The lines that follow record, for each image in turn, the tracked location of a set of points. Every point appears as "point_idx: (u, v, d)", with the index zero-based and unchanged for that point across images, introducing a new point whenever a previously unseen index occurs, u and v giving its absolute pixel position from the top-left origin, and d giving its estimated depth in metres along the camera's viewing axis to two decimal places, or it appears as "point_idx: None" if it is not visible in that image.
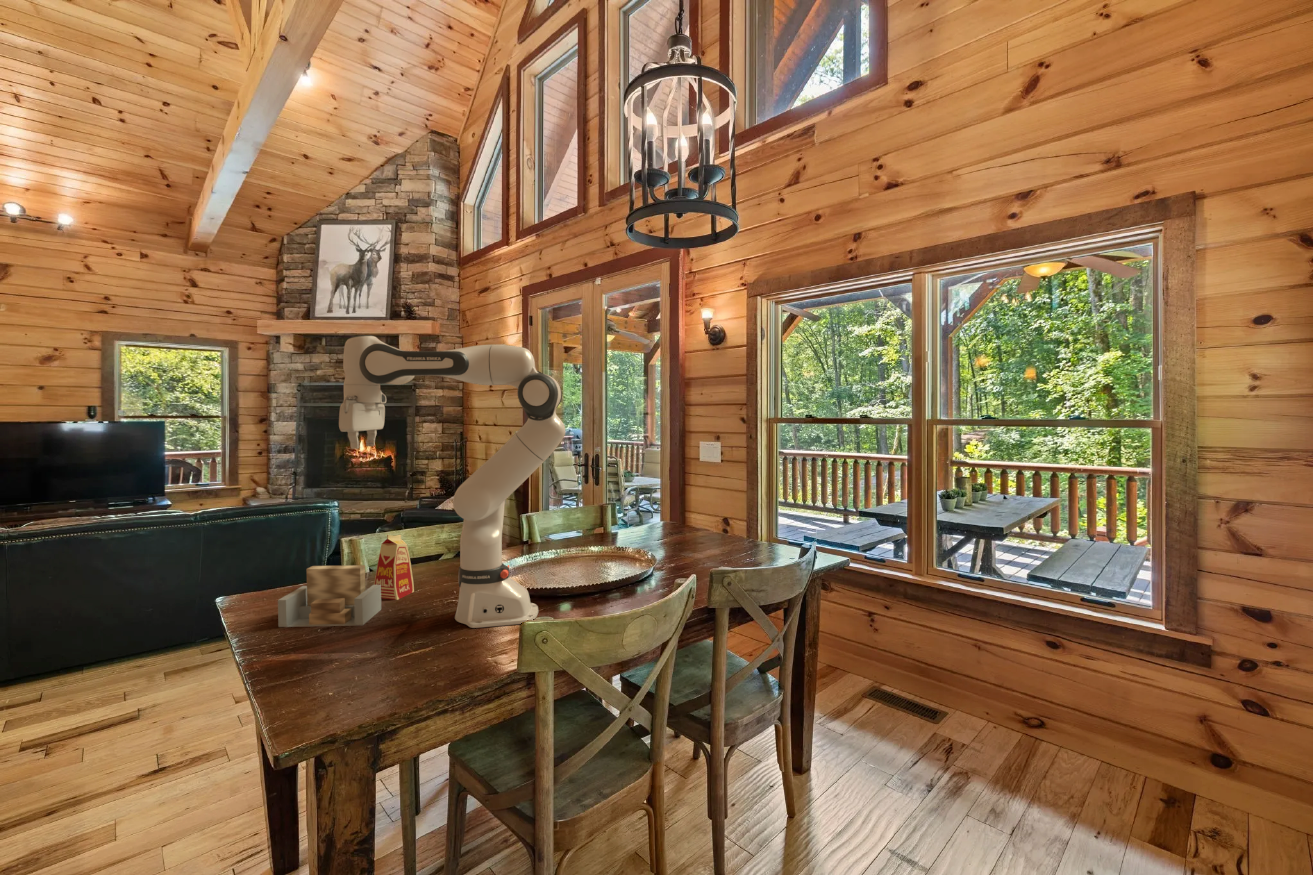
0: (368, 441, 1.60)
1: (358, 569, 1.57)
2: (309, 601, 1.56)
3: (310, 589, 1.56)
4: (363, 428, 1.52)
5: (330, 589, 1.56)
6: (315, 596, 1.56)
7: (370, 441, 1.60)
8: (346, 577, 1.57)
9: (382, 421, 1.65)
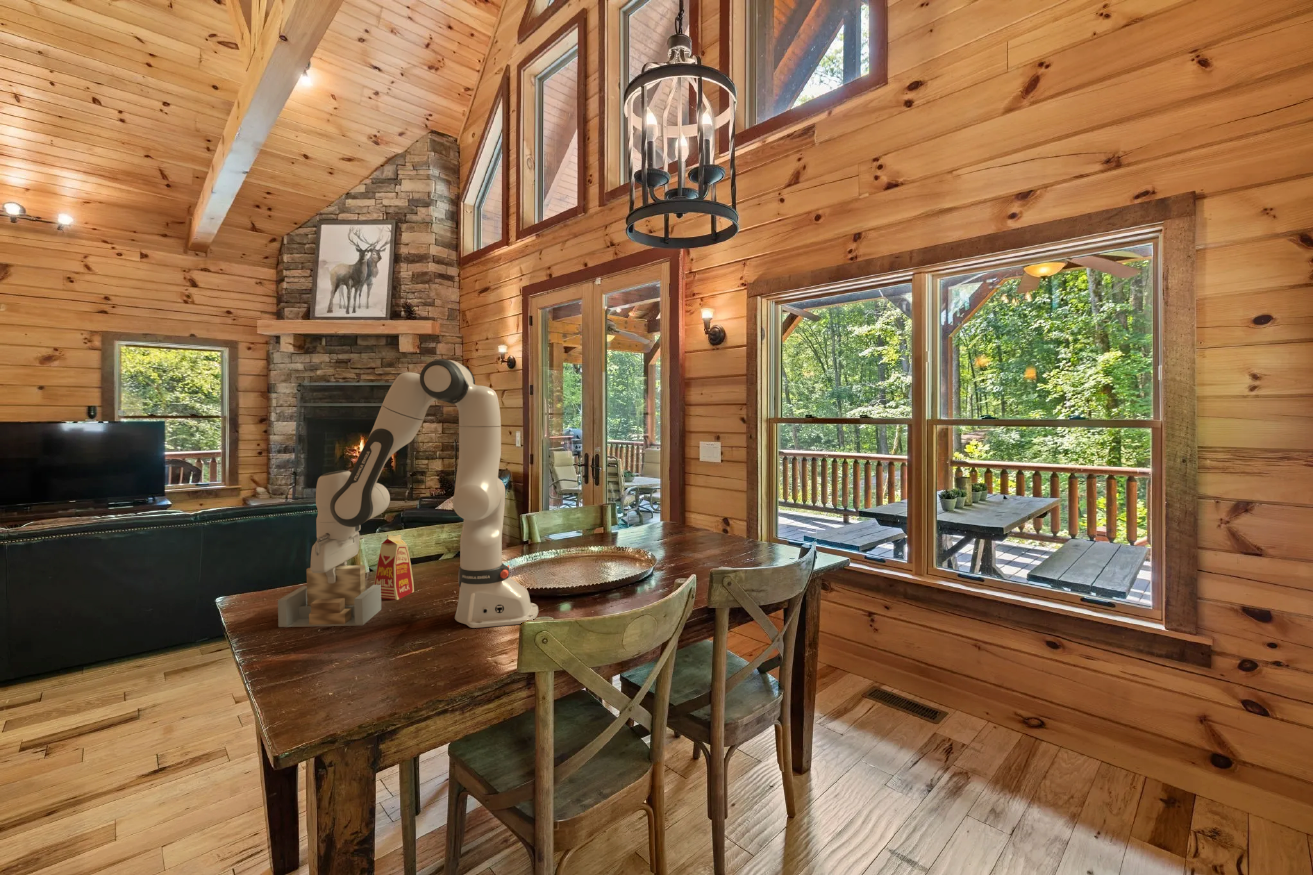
0: None
1: (358, 569, 1.57)
2: (309, 601, 1.56)
3: (310, 589, 1.56)
4: (335, 565, 1.54)
5: (330, 589, 1.56)
6: (315, 596, 1.56)
7: None
8: (346, 577, 1.57)
9: (356, 547, 1.66)
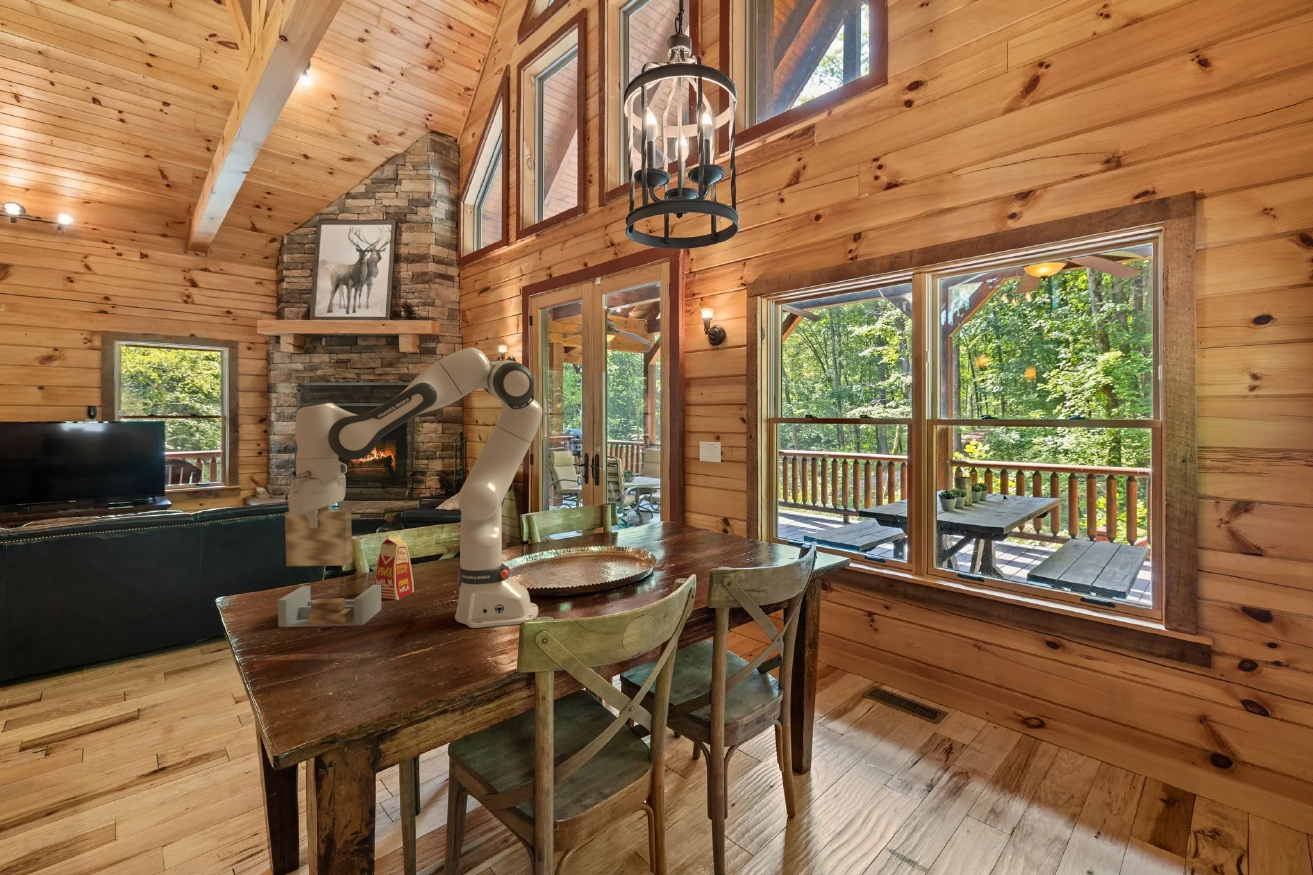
0: None
1: (343, 513, 1.40)
2: (288, 549, 1.39)
3: (289, 535, 1.39)
4: (317, 507, 1.36)
5: (312, 536, 1.39)
6: (295, 543, 1.39)
7: None
8: (329, 522, 1.39)
9: (342, 492, 1.49)
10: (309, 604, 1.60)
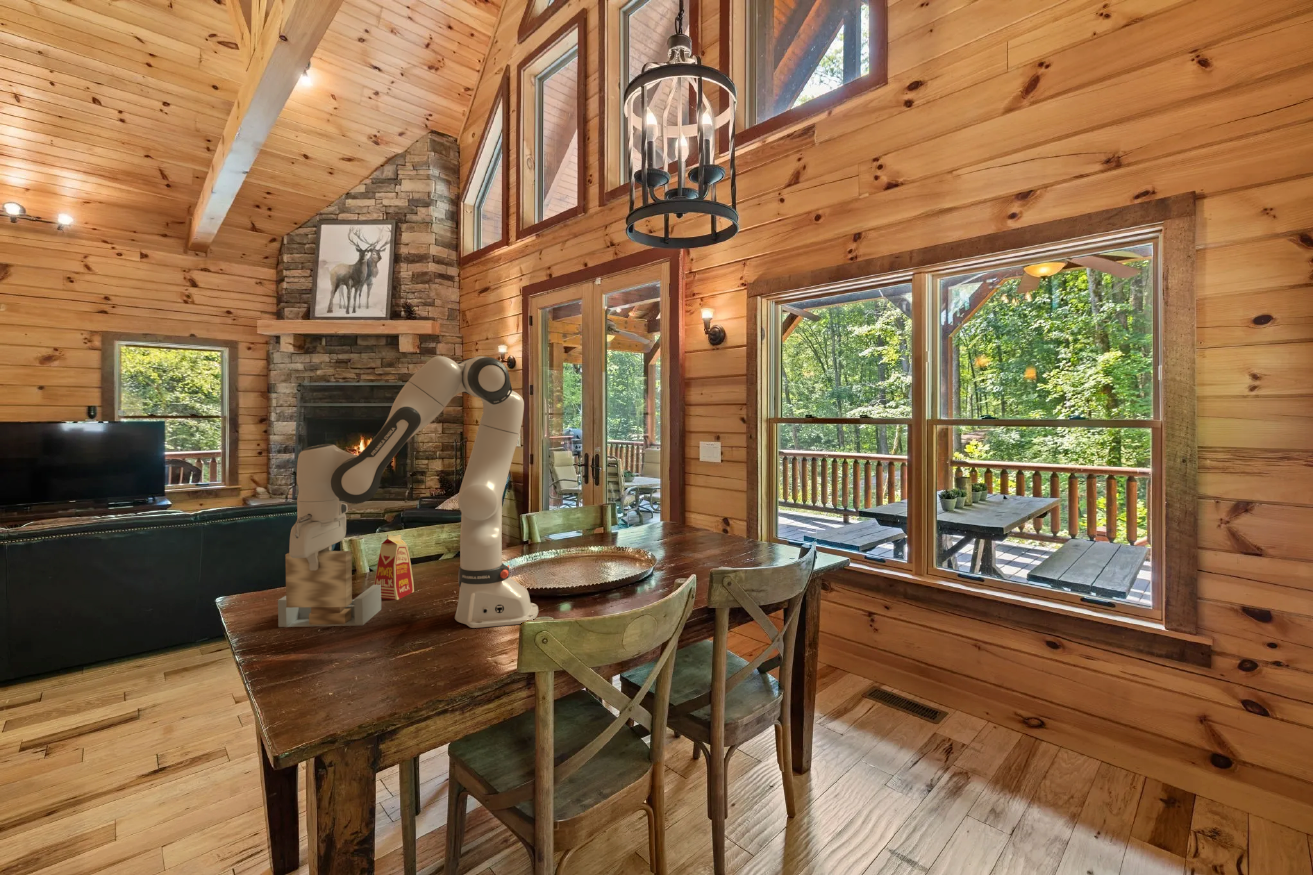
0: None
1: (343, 555, 1.40)
2: (288, 590, 1.39)
3: (289, 577, 1.39)
4: (318, 550, 1.37)
5: (312, 577, 1.40)
6: (295, 584, 1.39)
7: None
8: (330, 563, 1.40)
9: (343, 531, 1.49)
10: None
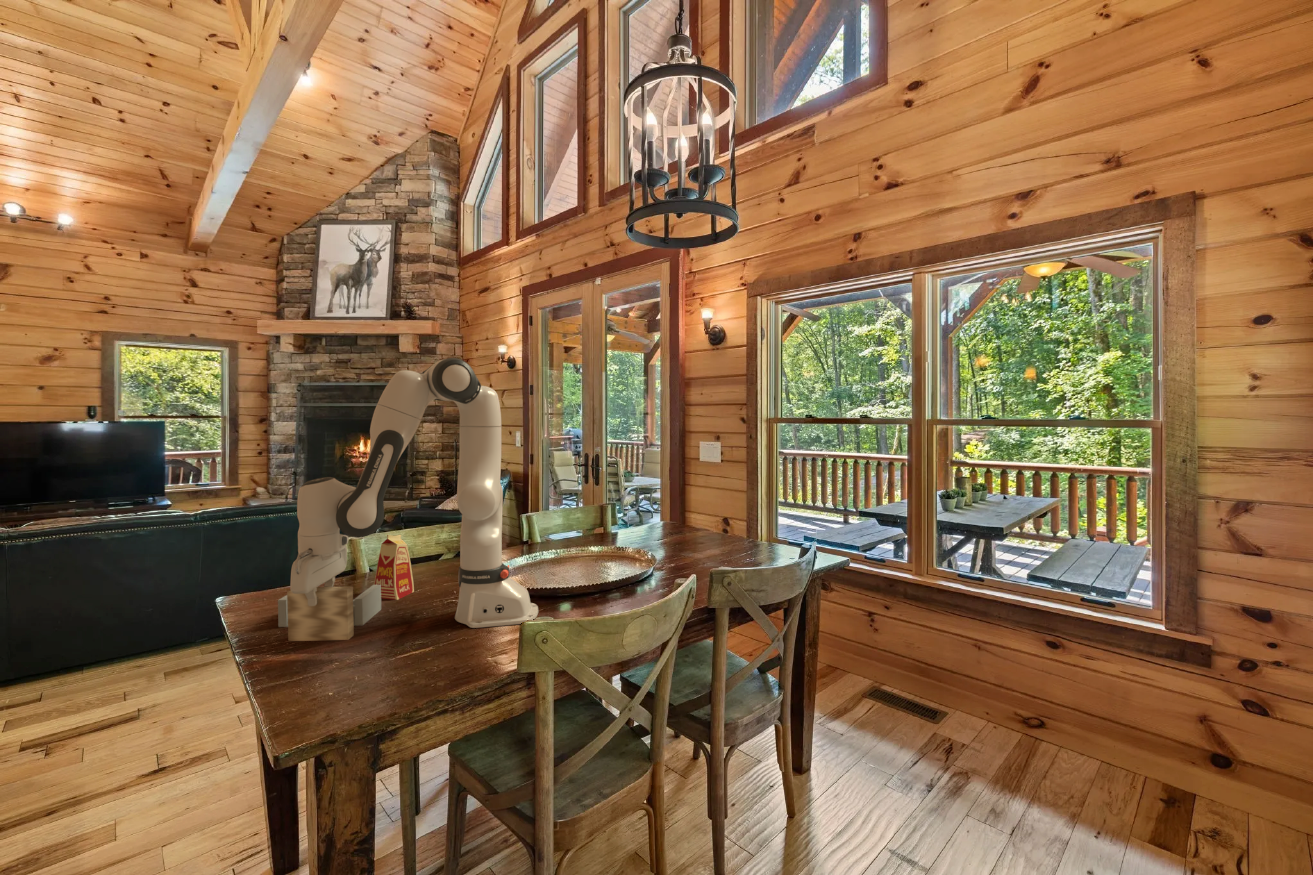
0: None
1: (345, 591, 1.40)
2: (290, 627, 1.40)
3: (291, 614, 1.40)
4: (319, 584, 1.37)
5: (314, 614, 1.40)
6: (297, 621, 1.40)
7: None
8: (331, 600, 1.40)
9: (344, 563, 1.50)
10: None
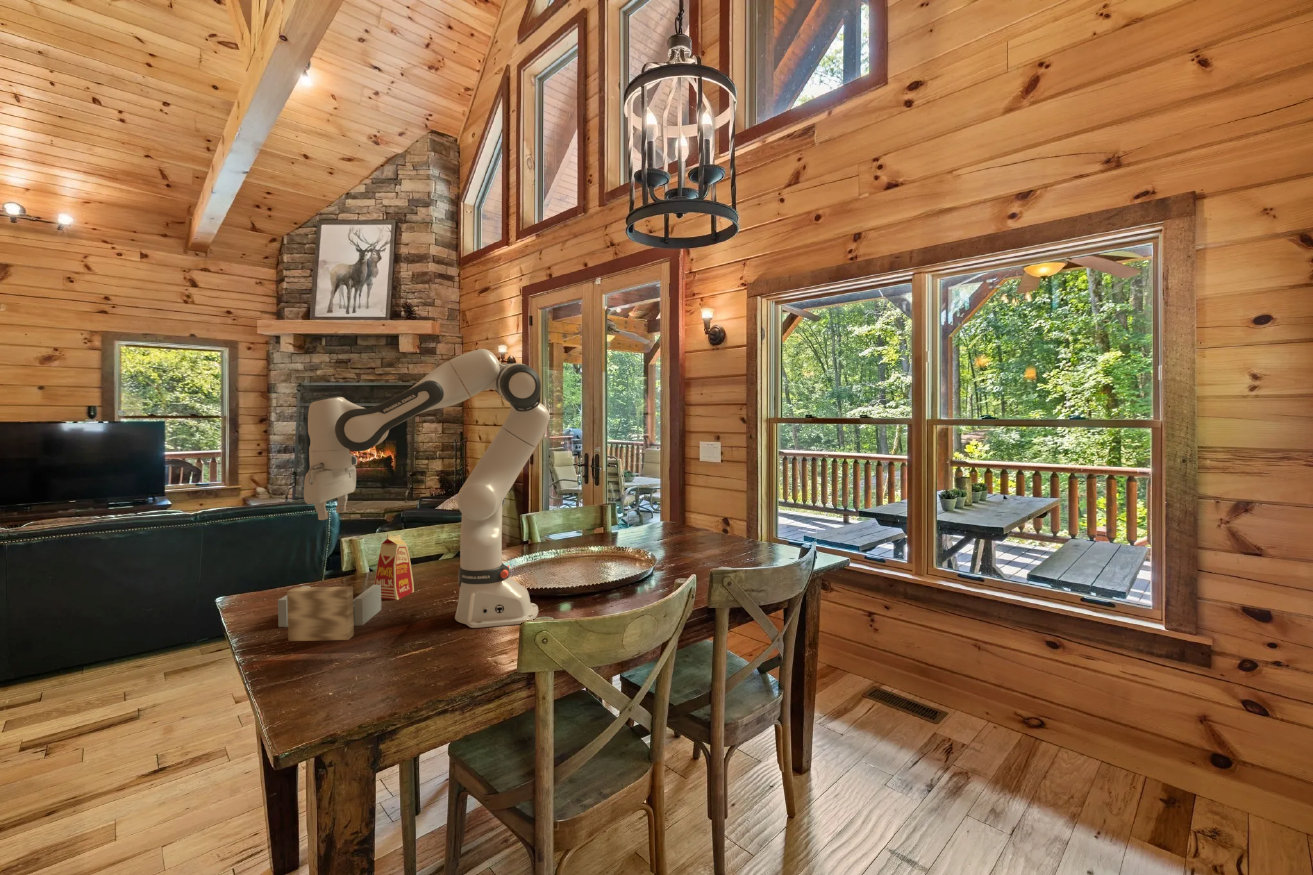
0: (338, 507, 1.50)
1: (345, 591, 1.40)
2: (290, 627, 1.40)
3: (291, 614, 1.40)
4: (331, 497, 1.42)
5: (314, 614, 1.40)
6: (297, 621, 1.40)
7: (340, 507, 1.50)
8: (331, 600, 1.40)
9: (353, 484, 1.54)
10: None
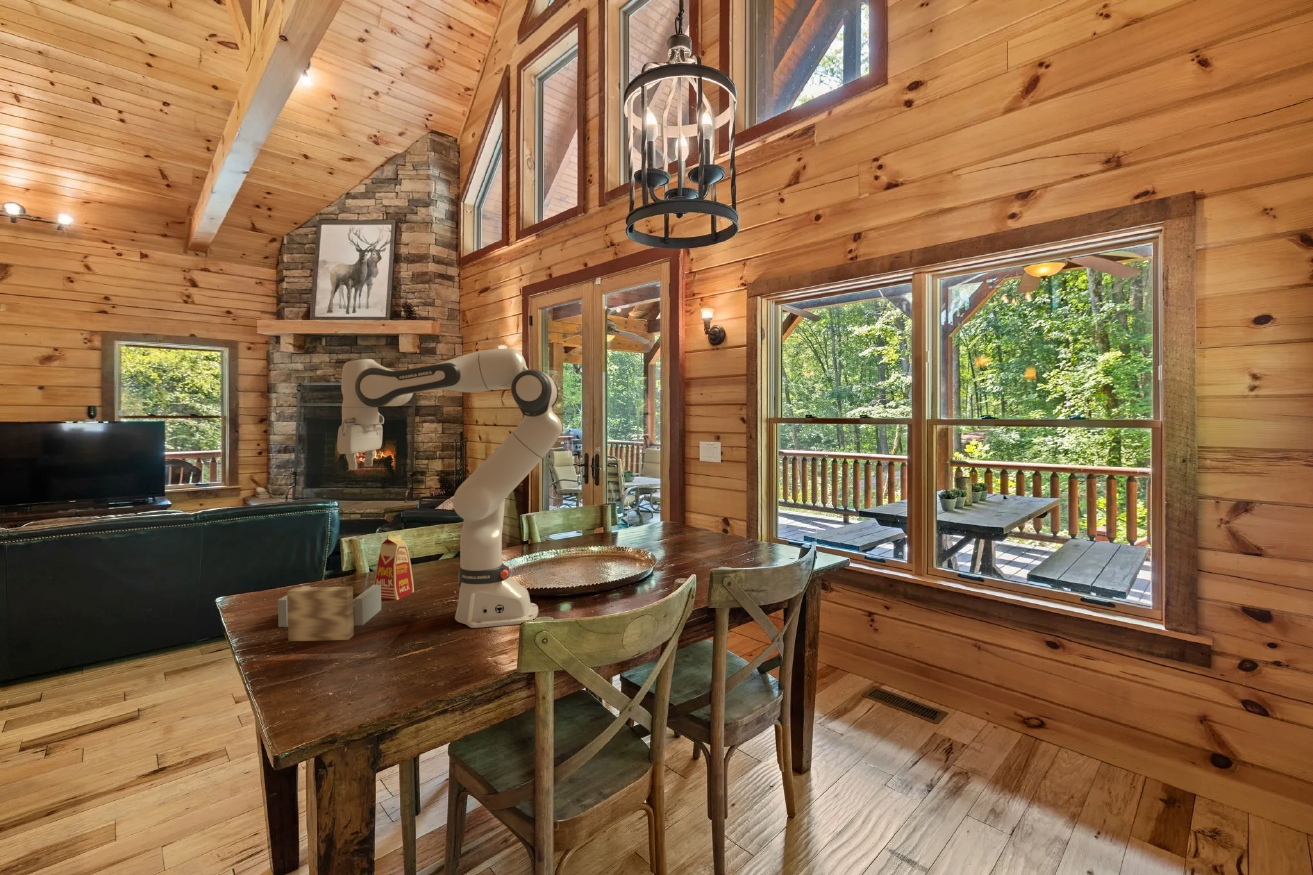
0: (366, 461, 1.63)
1: (345, 591, 1.40)
2: (290, 627, 1.40)
3: (291, 614, 1.40)
4: (360, 450, 1.55)
5: (314, 614, 1.40)
6: (297, 621, 1.40)
7: (368, 461, 1.64)
8: (331, 600, 1.40)
9: (380, 441, 1.68)
10: None
